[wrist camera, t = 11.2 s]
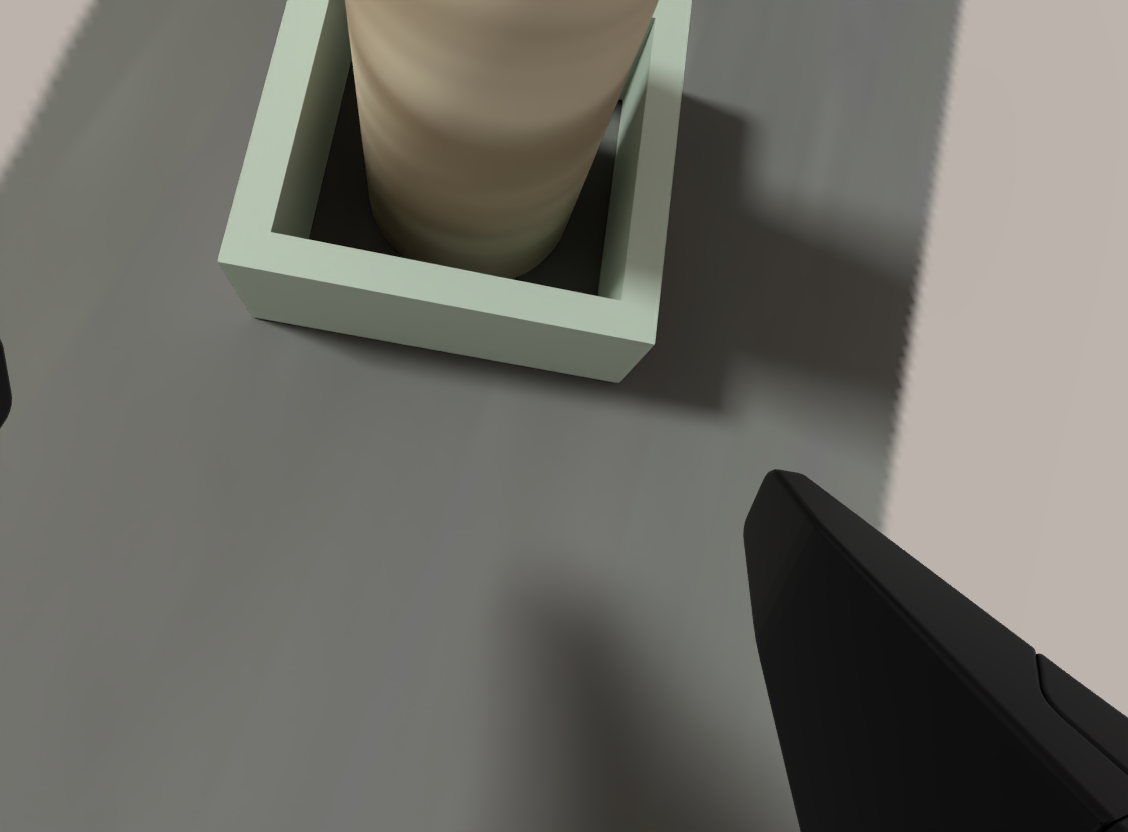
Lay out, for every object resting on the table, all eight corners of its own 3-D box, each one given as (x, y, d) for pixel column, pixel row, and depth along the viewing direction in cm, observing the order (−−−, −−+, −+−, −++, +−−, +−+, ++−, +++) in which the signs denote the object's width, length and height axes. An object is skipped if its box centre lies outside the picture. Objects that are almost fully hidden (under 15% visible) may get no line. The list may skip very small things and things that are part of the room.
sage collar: (618, 383, 18) (655, 344, 15) (252, 317, 17) (217, 261, 14) (654, 81, 20) (692, -2, 18) (330, 3, 19) (314, -100, 16)
